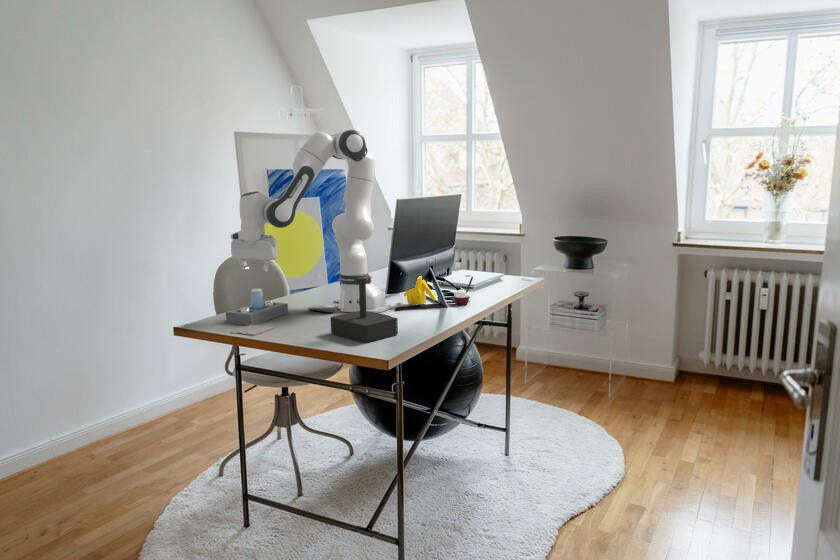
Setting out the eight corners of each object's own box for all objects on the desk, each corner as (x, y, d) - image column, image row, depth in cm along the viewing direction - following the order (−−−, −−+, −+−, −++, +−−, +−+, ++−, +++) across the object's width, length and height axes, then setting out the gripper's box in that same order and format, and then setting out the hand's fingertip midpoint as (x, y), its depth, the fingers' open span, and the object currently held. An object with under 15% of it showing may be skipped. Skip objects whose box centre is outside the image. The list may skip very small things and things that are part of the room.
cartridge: (266, 317, 248) (265, 288, 246) (258, 319, 244) (257, 291, 242) (257, 316, 250) (255, 288, 248) (249, 318, 246) (247, 290, 244)
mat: (274, 328, 229) (274, 327, 229) (254, 335, 219) (254, 334, 219) (251, 325, 234) (251, 324, 234) (230, 332, 224) (230, 331, 224)
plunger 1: (251, 318, 241) (251, 307, 240) (246, 320, 238) (245, 309, 237) (245, 318, 242) (244, 306, 242) (239, 319, 240) (238, 308, 239)
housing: (264, 310, 259) (264, 301, 258) (288, 313, 254) (287, 303, 253) (226, 322, 240) (225, 312, 239) (251, 325, 234) (250, 314, 234)
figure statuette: (439, 306, 263) (439, 253, 259) (427, 309, 257) (427, 255, 254) (407, 301, 274) (406, 250, 271) (395, 304, 268) (394, 252, 265)
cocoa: (449, 305, 266) (447, 277, 264) (458, 302, 271) (456, 275, 269) (467, 307, 260) (465, 278, 258) (476, 304, 264) (474, 276, 262)
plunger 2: (275, 311, 253) (274, 300, 253) (270, 313, 251) (269, 302, 250) (269, 310, 255) (268, 300, 254) (263, 312, 252) (263, 301, 251)
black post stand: (402, 334, 219) (401, 277, 215) (365, 344, 207) (364, 284, 204) (366, 325, 232) (364, 272, 229) (329, 334, 220) (327, 277, 217)
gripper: (280, 234, 239) (282, 270, 242) (238, 233, 248) (241, 268, 251) (269, 236, 234) (271, 273, 236) (227, 234, 243) (229, 270, 245)
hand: (255, 270), depth 243 cm, fingers open, 8 cm apart
